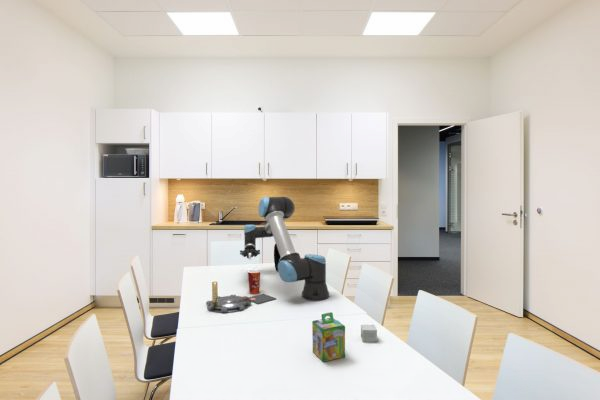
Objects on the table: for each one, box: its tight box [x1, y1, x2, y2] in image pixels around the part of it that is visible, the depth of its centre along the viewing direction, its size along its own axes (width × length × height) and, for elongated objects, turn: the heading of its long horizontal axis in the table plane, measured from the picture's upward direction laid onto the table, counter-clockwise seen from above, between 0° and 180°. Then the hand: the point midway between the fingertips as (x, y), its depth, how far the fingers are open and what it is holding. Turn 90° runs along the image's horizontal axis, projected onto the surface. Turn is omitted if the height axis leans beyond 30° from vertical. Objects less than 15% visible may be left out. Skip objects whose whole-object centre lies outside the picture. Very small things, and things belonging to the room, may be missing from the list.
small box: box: [360, 324, 378, 343], centre depth 139 cm, size 6×6×5 cm
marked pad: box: [248, 293, 277, 305], centre depth 191 cm, size 12×12×1 cm
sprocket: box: [205, 281, 253, 312], centre depth 181 cm, size 23×23×13 cm
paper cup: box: [247, 267, 262, 295], centre depth 202 cm, size 8×8×14 cm
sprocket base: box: [206, 304, 251, 314], centre depth 181 cm, size 22×22×1 cm
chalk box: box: [311, 312, 346, 363], centre depth 127 cm, size 9×9×15 cm
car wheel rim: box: [273, 243, 281, 272], centre depth 259 cm, size 20×10×20 cm, turn 14°
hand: (249, 257), depth 207 cm, fingers closed
